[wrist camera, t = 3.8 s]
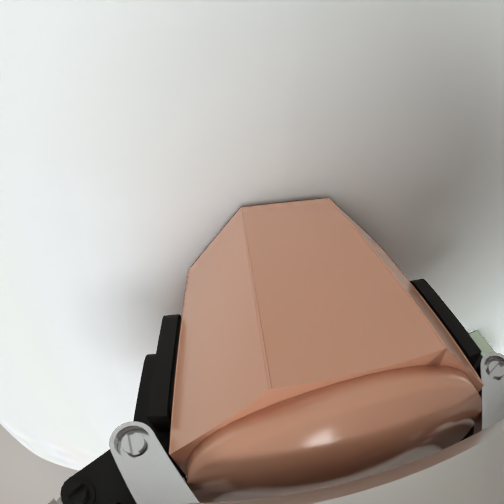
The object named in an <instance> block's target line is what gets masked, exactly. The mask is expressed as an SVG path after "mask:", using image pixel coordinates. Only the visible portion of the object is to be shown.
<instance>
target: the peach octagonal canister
mask: <svg viewBox="0 0 504 504" xmlns="http://www.w3.org/2000/svg"><path fill="white" fill-rule="evenodd" d="M483 386H484V384H483V382H482V381H481V379H480V378H479V376H478V374H477V373H476V371H475V370H474V368H473V367H472V365H471V364H470V362H469V361H468V359H467V358H466V356H465V355H464V354H463V352H462V351H461V349H460V348H459V346H458V345H457V344H456V342H455V341H454V339H453V338H452V336H451V335H450V334H449V332H448V331H447V330H446V328H445V327H444V325H443V324H442V323H441V321H440V320H439V319H438V317H437V316H436V315H435V313H434V312H433V311H432V309H431V308H430V307H429V306H428V304H427V303H426V302H425V300H424V299H423V298H422V296H421V295H420V294H419V293H418V291H417V290H416V289H415V288H414V286H413V285H412V284H411V283H410V281H409V280H408V279H407V278H406V276H405V275H404V274H403V273H402V272H401V270H400V269H399V268H398V267H397V266H396V264H395V263H394V262H393V261H392V260H391V258H390V257H389V256H388V255H387V254H386V253H385V251H384V250H383V249H382V248H381V247H380V246H379V245H378V244H377V243H376V242H375V241H374V240H373V239H372V238H371V237H370V236H369V235H368V234H367V233H366V232H365V231H364V230H363V229H361V228H360V227H359V226H358V225H357V224H356V223H355V222H354V221H353V220H352V219H351V218H350V217H349V216H348V215H347V214H346V213H345V212H343V211H342V210H341V209H340V208H339V207H338V206H337V205H336V204H335V203H334V202H333V201H332V200H331V199H330V198H326V199H315V200H305V201H295V202H285V203H276V204H266V205H258V206H249V207H241V208H240V209H239V210H238V211H237V213H236V214H235V215H234V216H233V217H232V218H231V220H230V221H229V222H228V223H227V224H226V225H225V227H224V228H223V229H222V230H221V231H220V233H219V234H218V235H217V236H216V237H215V239H214V240H213V241H212V242H211V243H210V245H209V246H208V247H207V248H206V249H205V251H204V252H203V253H202V254H201V255H200V257H199V258H198V259H197V260H196V262H195V263H194V264H193V265H192V266H191V268H190V269H189V270H188V277H187V283H186V291H185V298H184V305H183V313H182V321H181V329H180V337H179V345H178V354H177V364H176V373H175V383H174V394H173V405H172V418H171V431H170V446H169V455H170V456H171V457H172V458H173V460H174V461H175V462H176V463H177V465H178V466H179V467H180V468H181V470H182V471H183V472H184V473H185V475H186V476H187V485H188V486H189V487H190V488H191V490H192V491H193V492H194V494H195V495H196V497H197V498H198V499H199V501H200V502H201V503H213V502H230V501H242V500H252V499H261V498H270V497H277V496H284V495H291V494H297V493H302V492H308V491H313V490H318V489H322V488H327V487H331V486H336V485H340V484H344V483H348V482H352V481H355V480H359V479H363V478H366V477H369V476H373V475H376V474H379V473H382V472H385V471H389V470H391V469H394V468H397V467H400V466H403V465H406V464H408V463H411V462H414V461H416V460H419V459H421V458H424V457H426V456H429V455H431V454H434V453H436V452H438V451H441V450H443V449H445V448H447V447H449V446H452V445H454V444H456V443H458V442H460V441H461V440H462V439H463V438H464V437H465V435H466V434H467V433H468V432H469V431H470V429H471V428H472V427H473V425H474V421H475V420H476V419H477V417H478V416H479V414H480V412H481V408H482V399H481V397H480V395H479V392H480V390H481V388H482V387H483Z"/></svg>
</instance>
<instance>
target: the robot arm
mask: <svg viewBox="0 0 504 504" xmlns="http://www.w3.org/2000/svg"><path fill="white" fill-rule="evenodd" d="M410 283H411V284H412V285H413V286H414V288H415V289H416V290H417V291H418V293H419V294H420V295H421V296H422V298H423V299H424V300H425V302H426V303H427V304H428V306H429V307H430V308H431V309H432V311H433V312H434V313H435V315H436V316H437V317H438V319H439V320H440V321H441V323H442V324H443V325H444V327H445V328H446V330H447V331H448V332H449V334H450V335H451V336H452V338H453V339H454V341H455V342H456V344H457V345H458V346H459V348H460V349H461V351H462V352H463V354H464V355H465V356H466V358H467V359H468V361H469V362H470V364H471V365H472V367H473V368H474V370H475V371H476V373H477V374H478V376H479V378H480V379H481V381H482V382H483V384H484V386H483V387H482V388H481V390H480V392H479V395H480V397H481V399H482V408H481V412H480V414H479V416H478V417H477V419H476V420H475V421H474V425H473V427H472V428H471V429H470V431H469V432H468V433H467V434H466V435H465V437H464V438H463V439H462V440H461V441H460V442H458V443H456V444H454V445H452V446H449V447H447V448H445V449H443V450H441V451H438V452H436V453H434V454H431V455H429V456H426V457H424V458H421V459H419V460H416V461H414V462H411V463H408V464H406V465H403V466H400V467H397V468H394V469H391V470H389V471H385V472H382V473H379V474H376V475H373V476H369V477H366V478H363V479H359V480H355V481H352V482H348V483H344V484H340V485H336V486H331V487H327V488H322V489H318V490H313V491H308V492H302V493H297V494H291V495H284V496H277V497H270V498H261V499H252V500H242V501H230V502H213V503H201V502H200V501H199V499H198V498H197V497H196V495H195V494H194V492H193V491H192V490H191V488H190V487H189V486H188V485H187V476H186V475H185V473H184V472H183V471H182V470H181V468H180V467H179V466H178V465H177V463H176V462H175V461H174V460H173V458H172V457H171V456H170V455H169V446H170V431H171V418H172V405H173V394H174V383H175V373H176V364H177V354H178V345H179V337H180V329H181V321H182V318H181V315H180V314H178V315H167V316H163V320H162V325H161V330H160V335H159V341H158V346H157V352H156V354H149V355H147V356H146V357H145V360H144V365H143V370H142V376H141V381H140V386H139V392H138V397H137V403H136V409H135V415H134V421H133V422H127V423H124V424H122V425H120V426H119V427H117V428H116V429H115V430H114V431H113V433H112V435H111V437H110V442H109V446H110V450H108V451H107V452H105V453H104V454H103V455H101V456H100V457H99V458H97V459H96V460H94V461H93V462H92V463H90V464H89V465H87V466H86V467H84V468H83V469H82V470H80V471H79V472H77V473H76V474H75V475H73V476H72V477H70V478H69V479H68V480H67V481H65V482H64V484H63V486H62V488H61V497H60V498H59V499H58V500H56V499H53V500H52V501H51V502H50V503H48V504H504V355H502V354H500V353H488V354H486V355H485V356H484V357H483V356H482V355H481V352H482V351H481V350H480V348H479V347H478V346H477V344H476V343H475V342H474V340H473V339H472V338H471V336H470V335H469V334H468V332H467V331H466V330H465V328H464V327H463V326H462V324H461V323H460V322H459V321H458V319H457V318H456V317H455V316H454V314H453V313H452V312H451V311H450V309H449V308H448V307H447V306H446V304H445V303H444V302H443V301H442V299H441V298H440V297H439V296H438V295H437V293H436V292H435V291H434V290H433V289H432V287H431V286H430V285H429V284H428V283H427V282H426V281H425V280H424V279H419V280H414V281H410Z"/></svg>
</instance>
